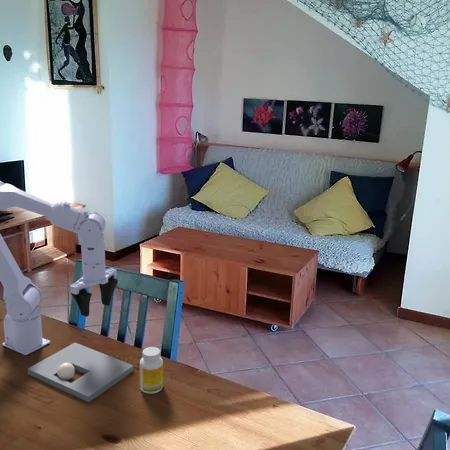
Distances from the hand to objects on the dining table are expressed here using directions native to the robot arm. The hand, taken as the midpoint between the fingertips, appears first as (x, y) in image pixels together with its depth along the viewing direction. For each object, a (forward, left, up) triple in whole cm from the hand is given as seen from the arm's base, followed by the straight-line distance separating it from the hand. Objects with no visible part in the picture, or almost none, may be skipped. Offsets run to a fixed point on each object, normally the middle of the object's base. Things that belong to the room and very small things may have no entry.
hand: (95, 309), depth 132 cm
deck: (+6, -12, -10) cm, 17 cm away
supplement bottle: (+24, -7, -11) cm, 27 cm away
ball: (+5, -15, -8) cm, 18 cm away
